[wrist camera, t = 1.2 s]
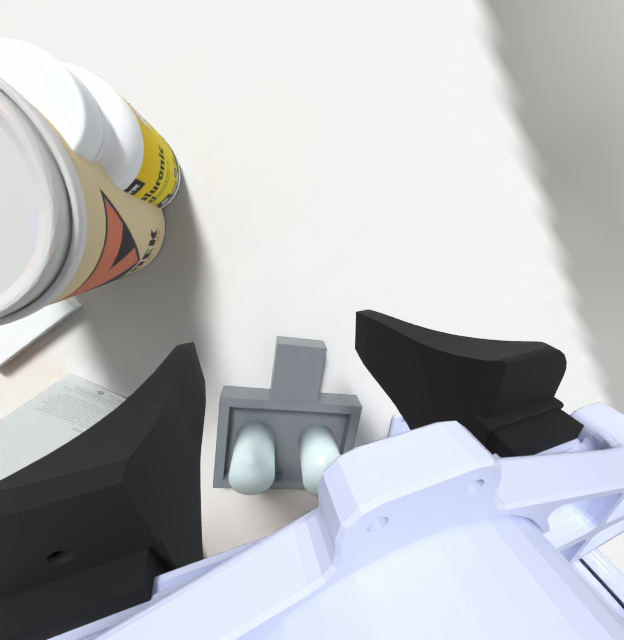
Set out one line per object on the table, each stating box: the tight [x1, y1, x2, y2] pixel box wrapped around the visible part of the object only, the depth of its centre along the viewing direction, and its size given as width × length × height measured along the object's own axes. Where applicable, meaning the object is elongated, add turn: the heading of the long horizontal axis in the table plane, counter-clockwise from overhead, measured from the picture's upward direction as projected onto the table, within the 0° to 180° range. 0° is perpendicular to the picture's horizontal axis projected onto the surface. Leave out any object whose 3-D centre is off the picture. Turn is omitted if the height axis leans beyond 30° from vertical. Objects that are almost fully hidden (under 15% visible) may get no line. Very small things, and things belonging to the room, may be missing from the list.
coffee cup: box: [0, 77, 165, 326], centre depth 14 cm, size 9×9×12 cm
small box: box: [0, 374, 126, 480], centre depth 19 cm, size 8×6×10 cm
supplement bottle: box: [0, 38, 180, 209], centre depth 15 cm, size 5×5×10 cm
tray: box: [213, 336, 362, 495], centre depth 24 cm, size 12×14×5 cm
